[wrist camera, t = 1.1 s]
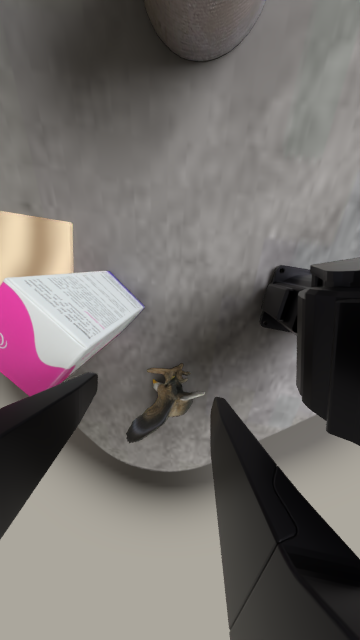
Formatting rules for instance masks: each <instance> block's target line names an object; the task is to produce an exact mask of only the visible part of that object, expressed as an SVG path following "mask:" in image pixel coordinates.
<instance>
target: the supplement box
mask: <svg viewBox="0 0 360 640" xmlns="http://www.w3.org/2000/svg"><path fill="white" fill-rule="evenodd" d="M144 308H145V306H144V305H143V304H142V303H141V302H140V301H139V300H138V299H137V298H136V297H135V296H134V295H133V294H132V293H131V292H130V291H129V290H128V289H127V288H126V287H125V286H124V285H123V284H122V283H121V282H120V281H119V280H118V279H117V278H116V277H115V276H114V275H113V274H112V273H111V272H110V271H96V272H83V273H68V274H54V275H40V276H26V277H10V278H5V279H4V280H3V282H2V284H1V285H0V372H1V373H2V374H3V375H5V376H6V377H7V378H8V379H10V380H11V381H12V382H13V383H14V384H16V385H17V386H18V387H19V388H20V389H22V390H23V391H24V392H25V393H26V394H27V395H29V396H32V395H34V394H37V393H39V392H42V391H44V390H46V389H49V388H51V387H54V386H56V385H59V384H60V383H61V382H63V381H64V380H65V379H66V378H67V377H68V376H70V375H71V374H72V373H73V372H74V371H76V370H77V369H78V368H79V367H80V366H82V365H83V364H84V363H85V362H86V361H87V360H89V359H90V358H91V357H92V356H93V355H95V354H96V353H97V352H98V351H99V350H101V349H102V348H103V347H104V346H106V345H107V344H108V343H109V342H110V341H111V340H113V339H114V338H115V337H116V336H118V335H119V334H120V333H121V332H122V331H123V330H124V329H125V328H126V327H127V326H128V325H129V324H130V323H131V322H132V321H133V320H134V319H135V318H136V317H137V315H138V314H139V313H140V312H141V311H142V310H143V309H144Z"/></svg>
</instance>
